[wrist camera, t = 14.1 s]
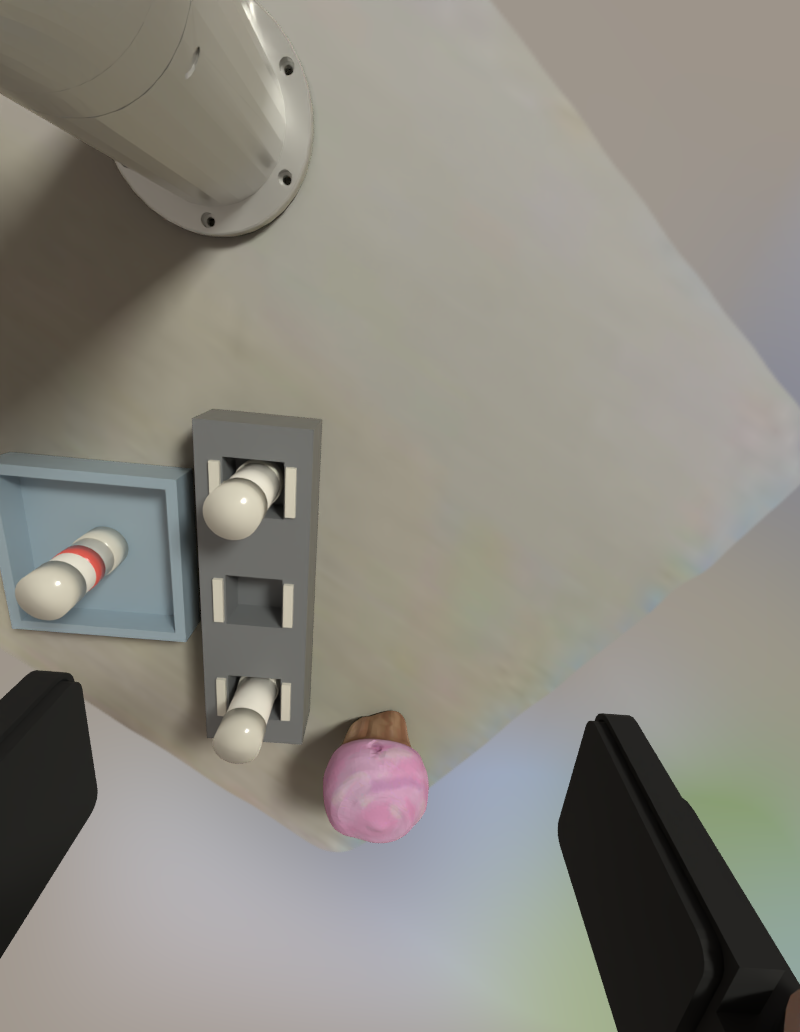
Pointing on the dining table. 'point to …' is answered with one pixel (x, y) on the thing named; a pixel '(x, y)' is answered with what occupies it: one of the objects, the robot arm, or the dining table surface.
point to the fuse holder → (259, 567)
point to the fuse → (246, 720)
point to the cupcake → (375, 781)
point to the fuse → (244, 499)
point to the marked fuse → (71, 574)
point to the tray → (110, 503)
